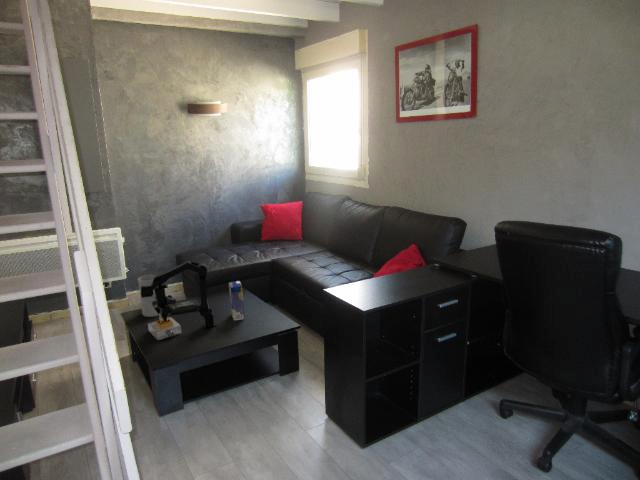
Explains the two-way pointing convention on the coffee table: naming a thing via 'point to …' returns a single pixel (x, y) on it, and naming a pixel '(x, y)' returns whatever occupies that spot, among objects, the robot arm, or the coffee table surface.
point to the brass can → (162, 319)
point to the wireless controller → (185, 306)
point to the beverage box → (236, 300)
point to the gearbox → (164, 329)
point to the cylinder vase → (147, 301)
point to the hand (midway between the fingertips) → (163, 320)
